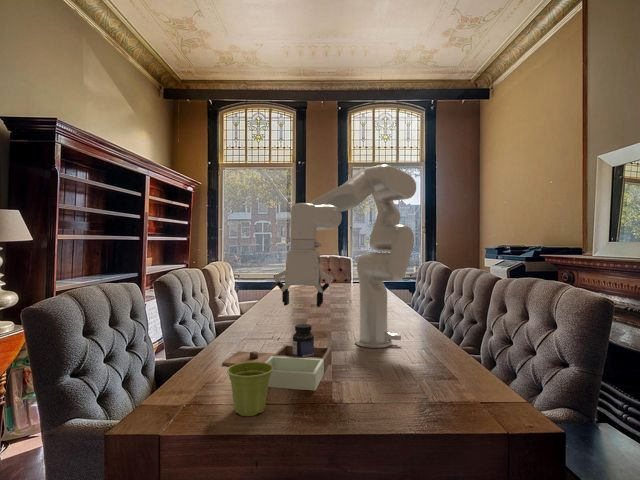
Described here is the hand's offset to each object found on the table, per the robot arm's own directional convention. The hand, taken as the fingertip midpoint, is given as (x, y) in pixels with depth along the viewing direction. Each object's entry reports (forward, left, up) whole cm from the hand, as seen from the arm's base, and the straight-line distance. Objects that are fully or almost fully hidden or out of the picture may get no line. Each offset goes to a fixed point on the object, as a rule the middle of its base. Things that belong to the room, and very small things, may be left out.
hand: (302, 305), depth 108 cm
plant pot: (+4, +31, -17) cm, 36 cm away
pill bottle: (0, 0, -17) cm, 17 cm away
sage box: (0, +13, -17) cm, 21 cm away
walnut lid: (+15, 0, -17) cm, 22 cm away
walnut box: (0, 0, -17) cm, 17 cm away
